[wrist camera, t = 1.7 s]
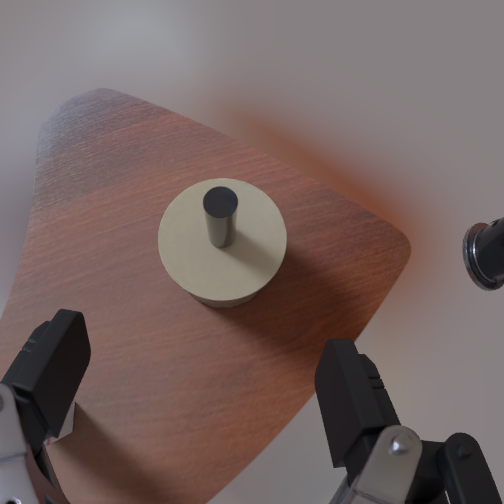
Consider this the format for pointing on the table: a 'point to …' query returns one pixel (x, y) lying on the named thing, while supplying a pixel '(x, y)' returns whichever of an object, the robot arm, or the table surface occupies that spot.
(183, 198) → the lid
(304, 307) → the table surface
